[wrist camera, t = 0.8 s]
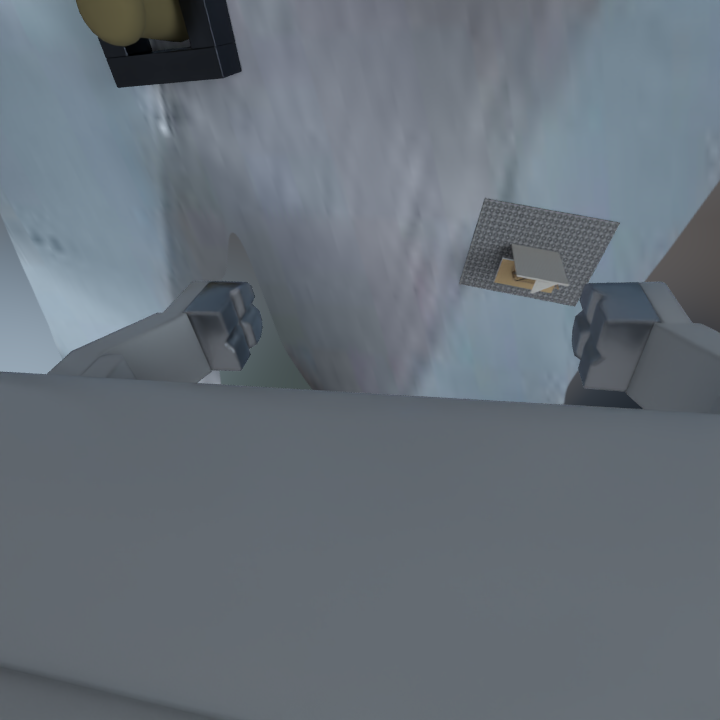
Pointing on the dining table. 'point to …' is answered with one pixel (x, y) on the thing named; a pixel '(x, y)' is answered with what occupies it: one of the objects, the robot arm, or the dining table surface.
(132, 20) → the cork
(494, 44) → the dining table surface
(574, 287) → the architectural model
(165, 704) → the robot arm
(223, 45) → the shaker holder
